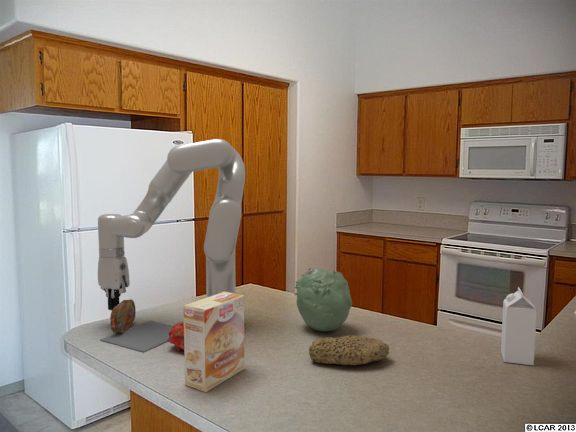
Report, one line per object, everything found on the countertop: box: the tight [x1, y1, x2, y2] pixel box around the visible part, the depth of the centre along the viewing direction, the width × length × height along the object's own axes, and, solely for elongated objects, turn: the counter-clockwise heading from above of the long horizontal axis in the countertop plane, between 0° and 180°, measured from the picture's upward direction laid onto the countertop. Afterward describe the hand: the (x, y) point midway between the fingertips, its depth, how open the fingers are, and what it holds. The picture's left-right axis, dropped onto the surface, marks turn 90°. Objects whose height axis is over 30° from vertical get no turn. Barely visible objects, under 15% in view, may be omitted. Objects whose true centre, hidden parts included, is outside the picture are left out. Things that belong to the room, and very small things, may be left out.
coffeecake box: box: [183, 292, 246, 393], centre depth 111 cm, size 15×7×20 cm, turn 148°
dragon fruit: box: [167, 321, 184, 352], centre depth 129 cm, size 8×8×12 cm
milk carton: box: [500, 286, 538, 366], centre depth 122 cm, size 7×7×19 cm
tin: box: [110, 299, 136, 334], centre depth 145 cm, size 15×3×8 cm, turn 179°
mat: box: [99, 319, 174, 353], centre depth 140 cm, size 18×20×1 cm
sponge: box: [308, 334, 390, 366], centre depth 121 cm, size 13×8×20 cm
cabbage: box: [293, 267, 353, 333], centre depth 144 cm, size 16×19×20 cm
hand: (113, 309), depth 146 cm, fingers closed
